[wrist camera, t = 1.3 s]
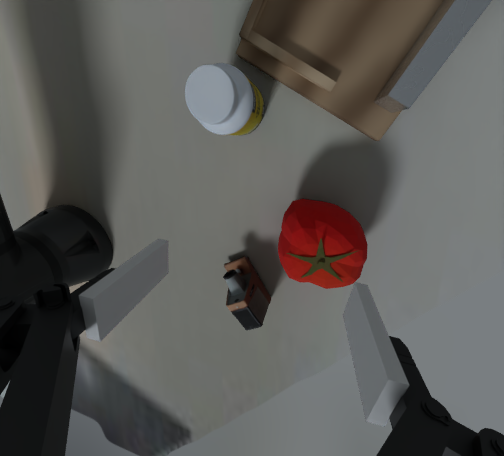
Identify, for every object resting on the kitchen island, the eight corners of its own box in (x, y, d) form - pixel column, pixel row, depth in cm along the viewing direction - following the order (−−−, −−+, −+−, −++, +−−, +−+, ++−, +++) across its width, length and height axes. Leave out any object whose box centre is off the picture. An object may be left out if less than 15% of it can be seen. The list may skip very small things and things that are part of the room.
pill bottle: (268, 131, 32) (249, 129, 21) (222, 138, 33) (184, 139, 23) (262, 76, 29) (238, 42, 19) (214, 86, 31) (167, 60, 20)
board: (239, 56, 29) (233, 49, 27) (314, -123, 23) (315, -154, 20) (375, 140, 29) (381, 141, 27) (489, -12, 23) (511, -30, 20)
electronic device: (247, 252, 39) (235, 278, 32) (273, 297, 41) (266, 330, 35) (225, 261, 41) (209, 287, 34) (251, 304, 43) (241, 336, 36)
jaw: (373, 101, 27) (387, 95, 22) (445, -2, 23) (480, -36, 18) (391, 112, 27) (409, 108, 22) (466, 11, 23) (506, -20, 18)
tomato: (321, 173, 32) (328, 189, 23) (375, 241, 34) (402, 281, 25) (261, 221, 37) (246, 250, 27) (312, 278, 38) (314, 325, 29)
